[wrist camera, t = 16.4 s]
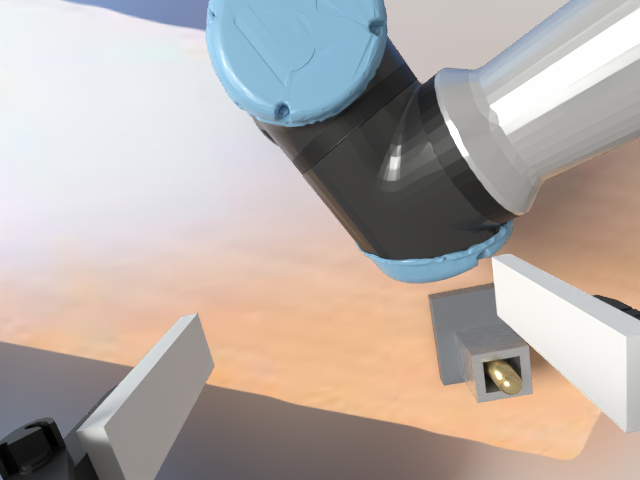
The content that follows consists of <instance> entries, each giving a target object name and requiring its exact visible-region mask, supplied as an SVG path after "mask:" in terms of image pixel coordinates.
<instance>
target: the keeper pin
mask: <svg viewBox="0 0 640 480" xmlns="http://www.w3.org/2000/svg"><path fill="white" fill-rule="evenodd" d="M483 368H484V369H485V370H486V372H487V373H488V374H489V376H490V377H491V378H492V380H493V381H494V382H495V384H496V385H497V386H498V388H499V389H500V390H501V391H502V392H503V393H505V394H508V395H515V394H518V393H519V392H520V391H521V389H522V381H521V378H520V377H519V376H518V374H517V373H516V372H515V371H514V370H513V369H512V368H511V367H510V365H509V364H508V363H507V362H506V361H505V360H504V359H499V360H493V361H488V362H483Z"/></svg>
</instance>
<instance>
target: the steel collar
mask: <svg viewBox="0 0 640 480" xmlns="http://www.w3.org/2000/svg"><path fill="white" fill-rule="evenodd" d="M454 334H455V342H456V349H457V356H458V364H459V371H460V375H461V377H462V378H463V380H464V382H465V383H466V385H467V386H468V388H469V390H470V391H471V393H472V394H473V396H474V398H475V399H476V401H477V402H478V403H480V402H486V401H492V400H498V399H504V398H510V397H516V396H522V395H528V394H533V390H532V378H531V365H530V352H529V345H528V344H527V343H526V342H524V341H523V340H522V339H521V338H520V337H519V336H518V335H517V334H516V333H515V332H514V331H513V330H511V329H510V328H509V327H508V326H507V325H506V324H505V323H500V324H494V325H489V326H483V327H478V328H472V329H467V330H461V331H456V332H454ZM499 359H504V360H505V361H506V362H507V363H508V364H509V365H510V367H511V368H512V369H513V370H514V371H515V372H516V373H517V374H518V376H519V377H520V378H521V381H522V389H521V391H520V392H519V393H518V394H515V395H508V394H505V393H503V392H502V391H501V390H500V389H499V388H498V386H497V385H496V384H495V382H494V381H493V380H492V378H491V377H490V376H489V374H488V373H487V372H486V370H485V369H484V368H483V362H488V361H493V360H499Z"/></svg>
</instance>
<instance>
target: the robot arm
mask: <svg viewBox="0 0 640 480" xmlns="http://www.w3.org/2000/svg"><path fill="white" fill-rule="evenodd" d="M207 11H208V13H207V29H206V41H207V47H208V52H209V56H210V59H211V62H212V65H213V68H214V70H215V72H216V74H217V76H218V78H219V80H220V82H221V83H222V85H223V87H224V89H225V91H226V92H227V94H228V95H229V97H230V98H231V99H232V100H233V102H234V103H235V104H236V105H237V106H238V107H239V108H241V109H243V110H245V111H246V112H247V113H248V114H249V115H250V116H252V118H253V120H254V122H255V123H256V125H257V126H258V128H259V129H260V130H261V132H262V133H263V134H264V135H265V136H266V137H267V138H268V139H269V140H270V141H272V142H273V143H274V144H276V145H277V146H279V147H280V148H281V149H282V151H283V152H284V153H285V154H286V155H287V157H288V158H289V159H290V160H291V161H292V163H293V164H294V165H295V166H296V167H297V169H298V170H299V171H300V172H301V174H302V176H303V177H304V179H305V180H306V181H307V182H308V183H309V185H310V186H311V187H312V188H313V190H314V191H315V192H316V193H317V195H318V196H319V197H320V198H321V200H322V201H323V202H324V203H325V204H326V206H327V207H328V208H329V209H330V211H331V212H332V213H333V214H334V216H335V217H336V218H337V219H338V221H339V222H340V223H341V224H342V225H343V227H344V228H345V229H346V230H347V232H348V233H349V234H350V235H351V237H352V238H353V239H354V240H355V243H356V245H357V247H358V248H359V250H360V251H361V252H363V253H364V255H366V256H367V257H369V258H370V259H371V260H372V261H373V262H374V263H375V264H376V265H377V266H378V268H379V269H380V270H381V271H382V272H383V273H384V274H386V275H387V276H389V277H390V278H392V279H394V280H397V281H400V282H405V283H416V284H418V283H429V282H436V281H440V280H444V279H448V278H451V277H454V276H457V275H459V274H461V273H464V272H466V271H468V270H470V269H472V268H474V267H476V266H477V265H478V260H479V259H481V258H489V257H491V256H492V255H494V254H495V253H496V252H497V251H498V250H499V249H501V248H502V246H503V245H504V244H505V243H506V241H507V240H508V238H509V237H510V235H511V233H512V230H513V219H514V218H516V217H519V216H521V215H524V214H526V213H528V212H529V211H530V210H531V208H532V205H533V203H534V201H535V199H536V196H537V194H538V192H539V189H540V187H541V185H542V184H543V183H544V182H545V181H546V180H547V179H549V178H551V177H554V176H556V175H558V174H560V173H562V172H565V171H567V170H569V169H571V168H573V167H575V166H578V165H580V164H582V163H584V162H586V161H589V160H591V159H593V158H595V157H597V156H600V155H602V154H604V153H606V152H608V151H611V150H613V149H615V148H617V147H619V146H621V145H624V144H626V143H628V142H630V141H632V140H635V139H637V138H639V137H640V0H570V1H569V2H568V3H566V4H565V5H564V6H563V7H561V8H560V9H558V10H557V11H556V12H555V13H553V14H552V15H551V16H549V17H548V18H547V19H545V20H544V21H543V22H541V23H540V24H539V25H537V26H536V27H535V28H533V29H532V30H531V31H529V32H528V33H527V34H525V35H524V36H523V37H522V38H520V39H519V40H517V41H516V42H515V43H513V44H512V45H511V46H510V47H508V48H507V49H505V50H504V51H503V52H501V53H500V54H499V55H497V56H496V57H495V58H494V59H492V60H491V61H490V62H488V63H487V64H486V65H484V66H483V67H480V68H478V69H475V70H468V69H455V68H444V69H442V70H440V71H439V72H438V73H437V74H436V75H434V76H433V77H432V78H431V79H429V80H428V81H427V82H426V83H424V84H423V85H421V83H420V82H419V81H418V80H417V78H416V77H415V75H414V74H413V72H412V71H411V70H410V68H409V67H408V65H407V64H406V62H405V61H404V59H403V58H402V56H401V55H400V53H399V52H398V50H397V49H396V48H395V46H394V45H393V44H392V42H391V40H390V39H389V37H388V36H387V23H386V22H387V14H386V8H385V6H384V0H209V4H208V9H207ZM310 168H311V169H310ZM304 173H305V174H304ZM303 174H304V175H303ZM492 266H493V276H494V286H495V297H496V307H497V315H498V316H499V317H500V318H501V319H502V320H503V321H504V322H505V323H506V324H507V325H509V326H510V327H511V328H512V329H513V330H514V331H515V332H516V333H517V334H518V335H519V336H521V337H522V338H523V339H524V340H525V341H526V342H527V343H528V344H529V345H530V346H532V347H533V348H534V349H535V350H536V351H537V352H538V353H539V354H540V355H541V356H542V357H544V358H545V359H546V360H547V361H548V362H549V363H550V364H551V365H552V366H553V367H554V368H556V369H557V370H558V371H559V372H560V373H561V374H562V375H563V376H564V377H565V378H567V379H568V380H569V381H570V382H571V383H572V384H573V385H574V386H575V387H576V388H577V389H579V390H580V391H581V392H582V393H583V394H584V395H585V396H586V397H587V398H588V399H589V400H591V401H592V402H593V403H594V404H595V405H596V406H597V407H598V408H599V409H600V410H602V411H603V412H604V413H605V414H606V415H607V416H608V417H609V418H610V419H611V420H612V421H614V422H615V423H616V424H617V425H618V426H619V427H620V428H621V429H622V430H623V431H625V432H626V433H632V432H638V431H640V311H638V310H636V309H632V307H630V306H628V305H626V304H624V303H622V302H620V301H618V300H615V299H611V298H607V297H603V296H600V295H594V296H591V295H589V294H588V293H586V292H584V291H582V290H580V289H578V288H576V287H574V286H572V285H570V284H568V283H566V282H564V281H562V280H560V279H558V278H557V277H555V276H553V275H551V274H549V273H547V272H545V271H543V270H541V269H539V268H537V267H535V266H533V265H531V264H529V263H527V262H525V261H524V260H522V259H520V258H518V257H516V256H514V255H512V254H504V255H499V256H494V257H492ZM213 368H214V363H213V360H212V357H211V354H210V350H209V347H208V344H207V341H206V338H205V335H204V332H203V328H202V325H201V322H200V319H199V316H198V313H196V314H191V315H185V316H181V317H180V318H179V320H178V321H177V322H176V323H175V324H174V325H173V326H172V327H171V328H170V329H169V330H168V332H167V333H166V334H165V335H164V336H163V337H162V338H161V339H160V340H159V341H158V342H157V344H156V345H155V346H154V347H153V348H152V349H151V350H150V351H149V352H148V353H147V354H146V356H145V357H144V358H143V359H142V360H141V361H140V362H139V363H138V364H137V365H136V367H135V368H134V369H133V370H132V371H131V372H130V373H129V374H128V375H127V376H126V378H125V379H124V380H123V381H122V382H121V383H119V384H118V385H117V386H115V387H114V388H112V389H111V390H110V391H108V392H107V393H106V394H105V395H104V397H102V398H101V400H100V401H99V402H98V403H97V405H96V406H94V407H93V408H92V409H91V410H90V411H89V412H88V415H86V416H85V417H84V418H83V419H82V420H81V421H80V422H79V423H78V424H77V425H76V426H75V428H73V430H72V431H71V432H70V433H69V434H68V435H67V436H66V437H65V438H64V439H63V438H62V436H61V434H60V432H59V430H58V427H57V425H56V423H55V421H54V420H53V419H52V418H43V419H39V420H35V421H33V422H31V423H28V424H26V425H24V426H22V427H20V428H19V429H17V430H15V431H13V432H12V433H11V434H9V435H8V436H6V437H5V438H3V439H2V440H1V441H0V475H1V477H2V478H3V480H154V478H155V476H156V474H157V473H158V471H159V469H160V467H161V465H162V463H163V461H164V459H165V458H166V456H167V454H168V452H169V450H170V448H171V446H172V445H173V443H174V441H175V439H176V437H177V435H178V433H179V431H180V430H181V428H182V426H183V424H184V422H185V420H186V418H187V417H188V415H189V413H190V411H191V409H192V407H193V405H194V404H195V402H196V400H197V398H198V396H199V394H200V392H201V390H202V389H203V387H204V385H205V383H206V381H207V379H208V377H209V376H210V374H211V372H212V370H213Z"/></svg>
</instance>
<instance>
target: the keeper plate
mask: <svg viewBox="0 0 640 480" xmlns="http://www.w3.org/2000/svg"><path fill="white" fill-rule="evenodd" d="M428 296H429V303H430V309H431V316H432V323H433V330H434V337H435V344H436V351H437V358H438V364H439V371H440V378H441V381H442V383H443V385H450V384H456V383H462V382H464V380H463V378H462V377H461V375H460V371H459V364H458V356H457V349H456V342H455V334H454V332H456V331H461V330H467V329H472V328H478V327H483V326H489V325H494V324H500V323H505V322H504V321H503V320H502V319H501V318H500V317H499V316H498V315H497V307H496V297H495V286H494V283H491V284H486V285H481V286H475V287H470V288H465V289H459V290H454V291H449V292H443V293H438V294H432V295H428ZM505 324H506V323H505ZM506 325H507V324H506ZM507 326H508V327H509V328H510V329H511V330H513V329H512V328H511V327H510V326H509V325H507ZM513 331H514V330H513ZM514 332H515V331H514ZM515 333H516V332H515ZM516 334H517V333H516ZM517 335H518V334H517ZM518 336H519V335H518ZM519 337H520V338H521V339H522V340H523V341H524V339H523V338H522V337H521V336H519Z"/></svg>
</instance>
